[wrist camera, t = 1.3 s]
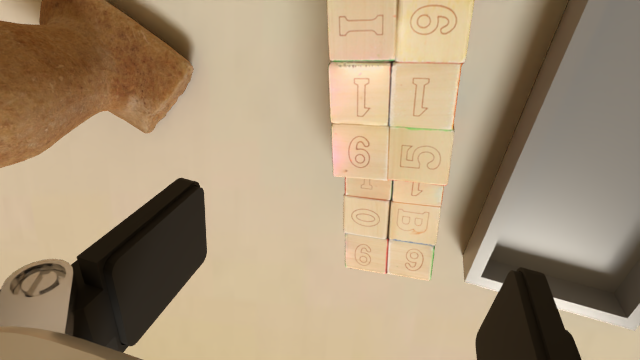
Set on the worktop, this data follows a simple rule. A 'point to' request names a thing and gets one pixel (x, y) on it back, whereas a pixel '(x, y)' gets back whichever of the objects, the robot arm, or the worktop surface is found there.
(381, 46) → the stack of blocks
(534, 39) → the worktop surface
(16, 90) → the brown suede boot
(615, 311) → the tray
